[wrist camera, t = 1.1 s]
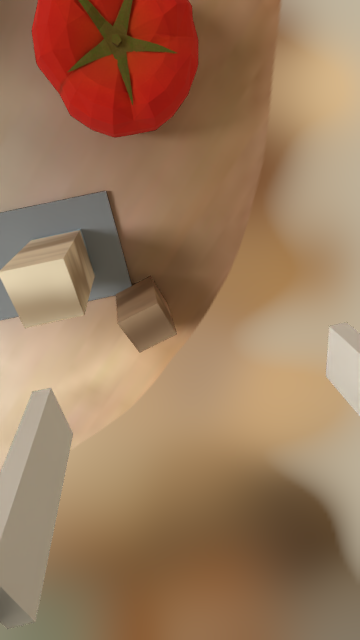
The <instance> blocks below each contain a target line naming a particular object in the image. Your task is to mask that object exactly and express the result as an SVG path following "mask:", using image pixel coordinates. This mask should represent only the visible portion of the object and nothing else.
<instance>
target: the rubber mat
mask: <svg viewBox="0 0 360 640" xmlns="http://www.w3.org/2000/svg"><path fill="white" fill-rule="evenodd" d="M77 229H81V231H82V234H83V237H84V241H85V244H86V247H87V250H88V253H89V256H90V259H91V262H92V265H93V268H94V271H95V277H94V281H93V284H92V288H91V292H90V296H89V299H88V301H91V300H96V299H100V298H105V297H109V296H114V295H116V294H117V293H119V292H121V291H123V290H125V289H127V288H129V287H131V286H132V284H131V281H130V277H129V273H128V270H127V266H126V262H125V259H124V255H123V251H122V248H121V244H120V240H119V236H118V233H117V229H116V225H115V222H114V218H113V214H112V211H111V207H110V203H109V200H108V196H107V192H106V191H102V192H97V193H92V194H88V195H83V196H78V197H73V198H68V199H63V200H59V201H54V202H49V203H44V204H39V205H34V206H30V207H25V208H20V209H15V210H10V211H5V212H1V213H0V270H1V269H2V268H3V267H4V266H5V265H6V264H7V263H8V262H9V261H10V260H11V259H12V258H13V257H14V256H15V255H16V254H17V253H18V252H19V251H20V250H22V249H23V248H24V247H25V246H26V245H27V244H28V243H29V242H30V241H31V240H32V239H34V238H39V237H44V236H49V235H53V234H58V233H63V232H68V231H72V230H77ZM18 316H19V315H18V313H17V311H16V309H15V307H14V305H13V303H12V301H11V299H10V297H9V295H8V293H7V291H6V289H5V287H4V285H3V282H2V280H1V278H0V320H4V319H9V318H13V317H18Z"/></svg>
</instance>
